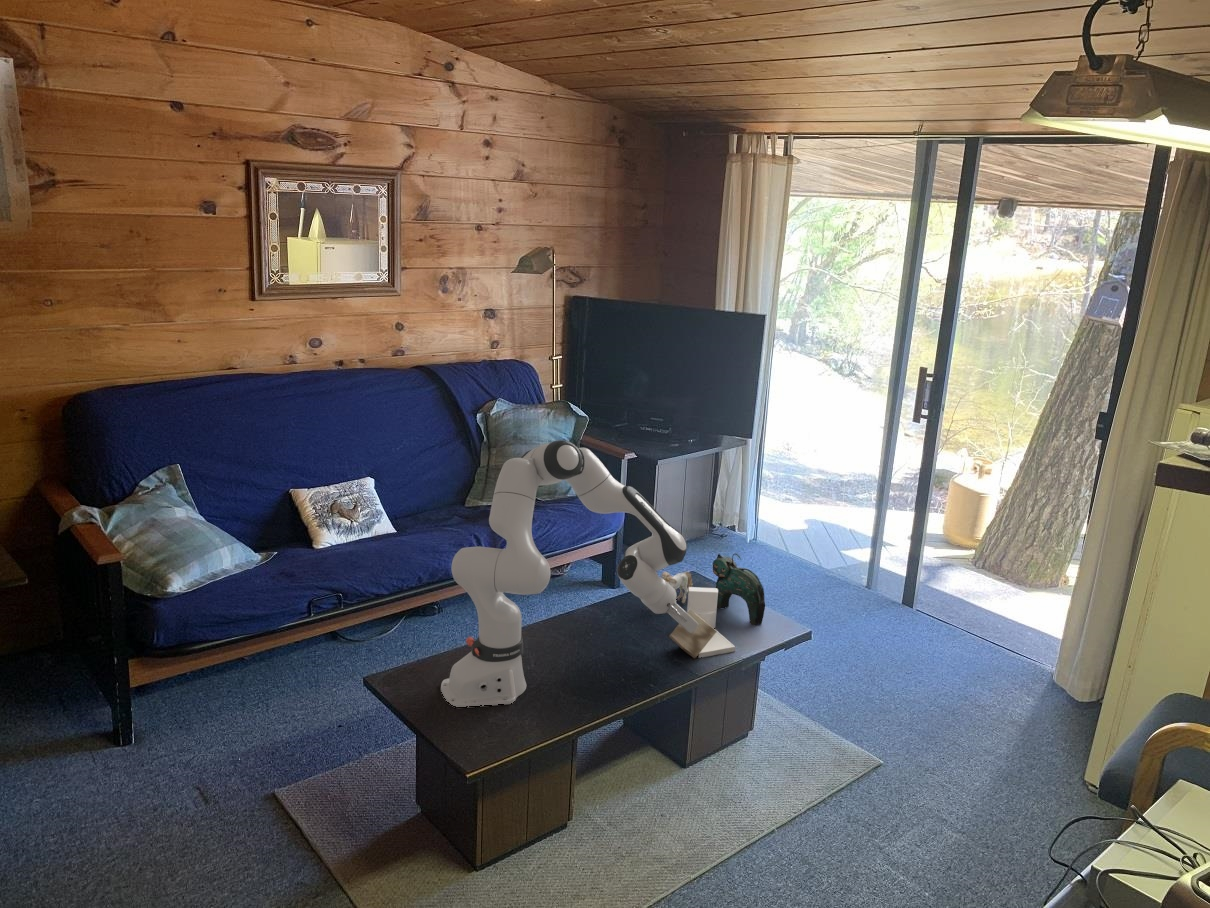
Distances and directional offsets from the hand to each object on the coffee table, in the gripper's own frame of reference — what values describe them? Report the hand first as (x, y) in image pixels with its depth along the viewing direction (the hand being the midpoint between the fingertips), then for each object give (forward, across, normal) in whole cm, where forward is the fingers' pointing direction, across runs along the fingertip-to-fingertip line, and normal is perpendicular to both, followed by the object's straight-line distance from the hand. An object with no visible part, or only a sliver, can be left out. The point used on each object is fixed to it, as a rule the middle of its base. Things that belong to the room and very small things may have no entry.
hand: (688, 623), depth 275 cm
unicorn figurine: (+15, +27, -1) cm, 30 cm away
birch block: (+4, 0, +6) cm, 7 cm away
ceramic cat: (+26, +17, -13) cm, 34 cm away
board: (+12, +2, +1) cm, 12 cm away
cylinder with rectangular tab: (+15, +14, -2) cm, 20 cm away
